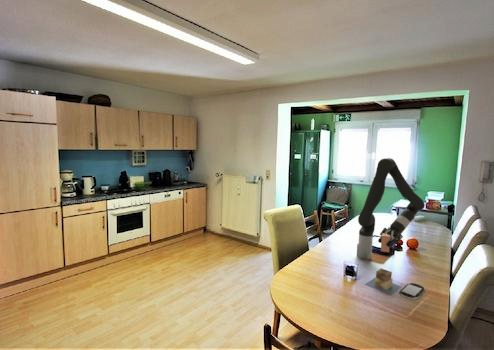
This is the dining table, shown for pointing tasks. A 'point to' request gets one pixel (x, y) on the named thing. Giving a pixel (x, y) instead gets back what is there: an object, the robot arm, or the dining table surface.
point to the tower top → (383, 274)
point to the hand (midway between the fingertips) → (383, 243)
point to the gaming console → (412, 291)
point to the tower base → (383, 283)
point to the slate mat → (388, 291)
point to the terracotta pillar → (385, 242)
